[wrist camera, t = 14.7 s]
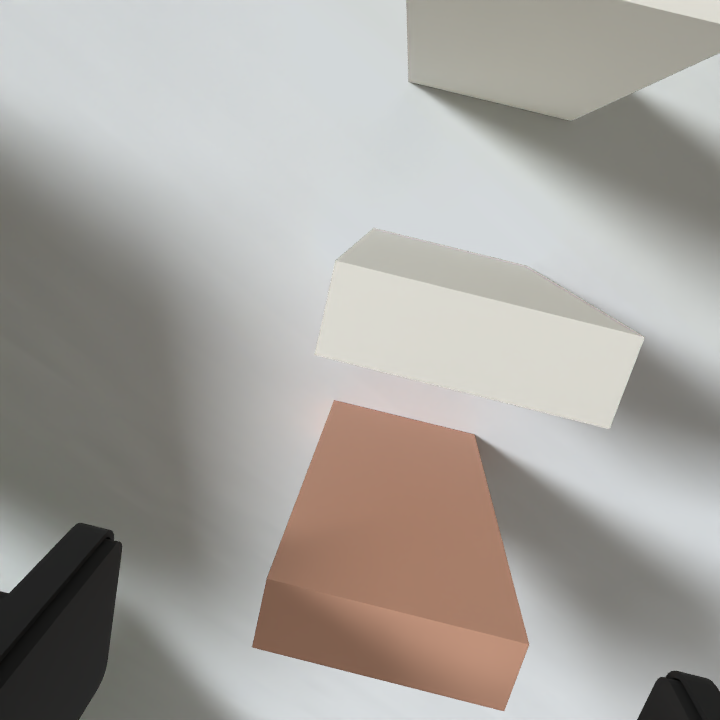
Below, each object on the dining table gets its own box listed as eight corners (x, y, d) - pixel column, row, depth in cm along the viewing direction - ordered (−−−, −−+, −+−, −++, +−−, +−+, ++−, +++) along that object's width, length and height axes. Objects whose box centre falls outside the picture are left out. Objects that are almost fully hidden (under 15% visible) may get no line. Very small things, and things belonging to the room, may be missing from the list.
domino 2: (374, 227, 19) (335, 260, 9) (526, 265, 19) (645, 337, 9) (362, 276, 19) (314, 355, 10) (511, 313, 19) (609, 428, 10)
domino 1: (422, 23, 17) (436, -191, 8) (589, 63, 17) (813, -102, 8) (408, 81, 18) (405, -52, 8) (571, 121, 18) (760, 33, 8)
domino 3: (334, 400, 21) (266, 578, 11) (474, 434, 21) (529, 644, 11) (324, 441, 21) (251, 647, 12) (462, 475, 21) (504, 711, 11)
